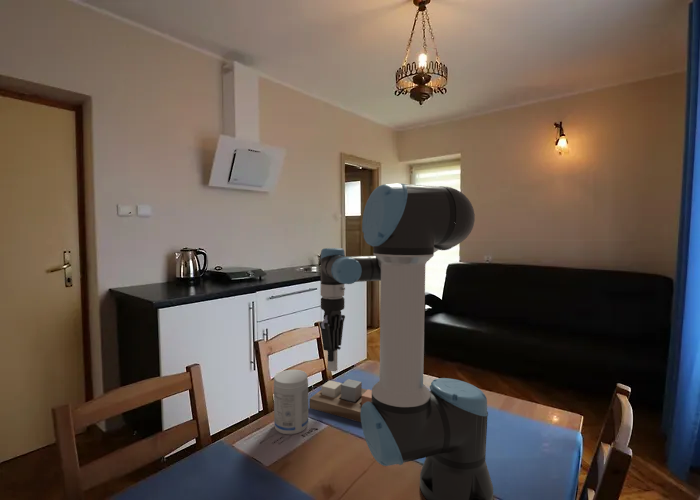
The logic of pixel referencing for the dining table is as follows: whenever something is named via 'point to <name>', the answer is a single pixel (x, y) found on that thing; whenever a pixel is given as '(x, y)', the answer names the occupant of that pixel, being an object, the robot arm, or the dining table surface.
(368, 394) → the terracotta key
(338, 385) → the beige cube
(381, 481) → the dining table surface
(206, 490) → the dining table surface
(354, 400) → the gray cube
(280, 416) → the supplement tub
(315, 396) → the wooden board
